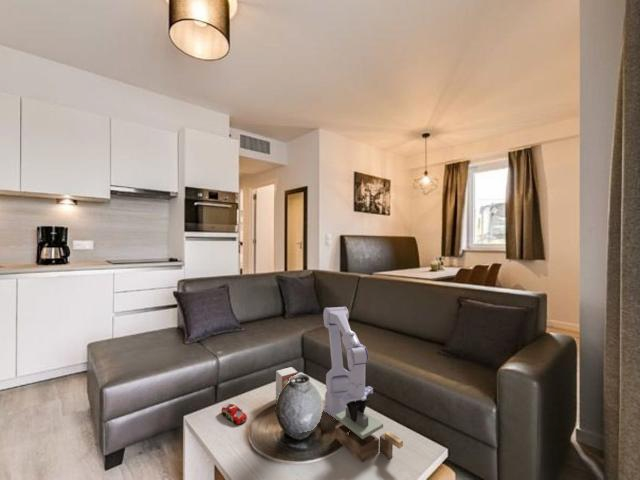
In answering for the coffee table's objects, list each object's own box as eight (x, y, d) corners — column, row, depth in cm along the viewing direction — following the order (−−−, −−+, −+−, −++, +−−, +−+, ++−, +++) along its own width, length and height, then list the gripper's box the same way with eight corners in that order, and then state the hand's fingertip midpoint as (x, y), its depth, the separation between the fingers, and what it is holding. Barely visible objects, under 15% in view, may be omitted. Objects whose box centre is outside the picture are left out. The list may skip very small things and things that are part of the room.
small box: (281, 405, 132) (281, 376, 132) (275, 398, 137) (275, 370, 137) (297, 400, 136) (298, 371, 136) (291, 393, 142) (291, 366, 141)
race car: (249, 421, 121) (249, 411, 121) (237, 428, 117) (237, 418, 117) (231, 408, 130) (231, 399, 130) (219, 414, 126) (219, 404, 126)
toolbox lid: (335, 420, 111) (335, 406, 111) (355, 411, 117) (355, 397, 117) (362, 442, 100) (362, 426, 100) (383, 430, 106) (383, 415, 106)
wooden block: (384, 438, 103) (384, 432, 103) (388, 436, 104) (388, 430, 104) (399, 448, 98) (399, 442, 98) (402, 446, 99) (402, 440, 99)
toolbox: (335, 438, 111) (335, 423, 111) (354, 428, 117) (355, 413, 117) (371, 470, 97) (372, 452, 96) (392, 456, 103) (392, 440, 102)
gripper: (349, 392, 100) (349, 432, 100) (379, 379, 108) (378, 416, 109) (335, 383, 105) (335, 421, 106) (365, 372, 114) (364, 407, 115)
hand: (356, 418), depth 108 cm, fingers closed on toolbox lid, 2 cm apart
